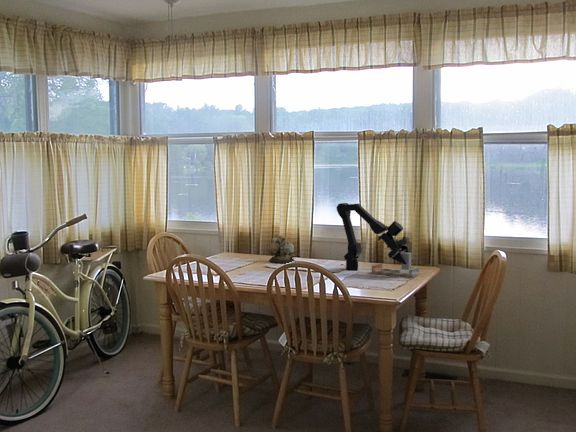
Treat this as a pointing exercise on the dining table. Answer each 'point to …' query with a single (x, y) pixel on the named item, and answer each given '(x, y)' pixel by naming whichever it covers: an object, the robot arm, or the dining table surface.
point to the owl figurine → (281, 250)
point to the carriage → (408, 260)
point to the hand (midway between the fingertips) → (408, 262)
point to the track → (394, 271)
